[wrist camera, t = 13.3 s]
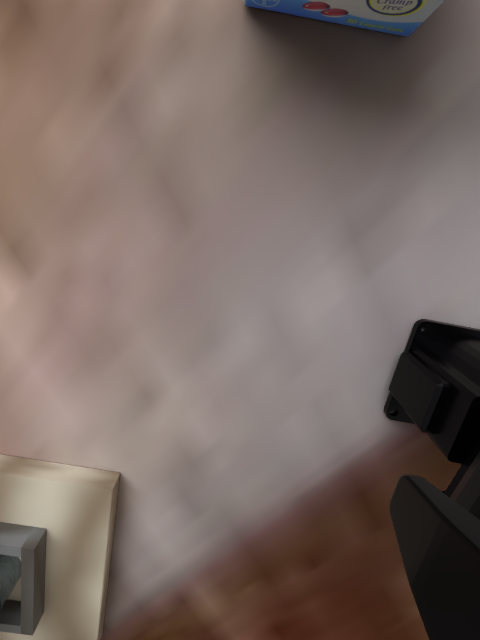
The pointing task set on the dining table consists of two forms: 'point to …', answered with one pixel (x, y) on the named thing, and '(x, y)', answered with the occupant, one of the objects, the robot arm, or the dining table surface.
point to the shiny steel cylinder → (8, 576)
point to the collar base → (56, 548)
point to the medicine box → (358, 12)
